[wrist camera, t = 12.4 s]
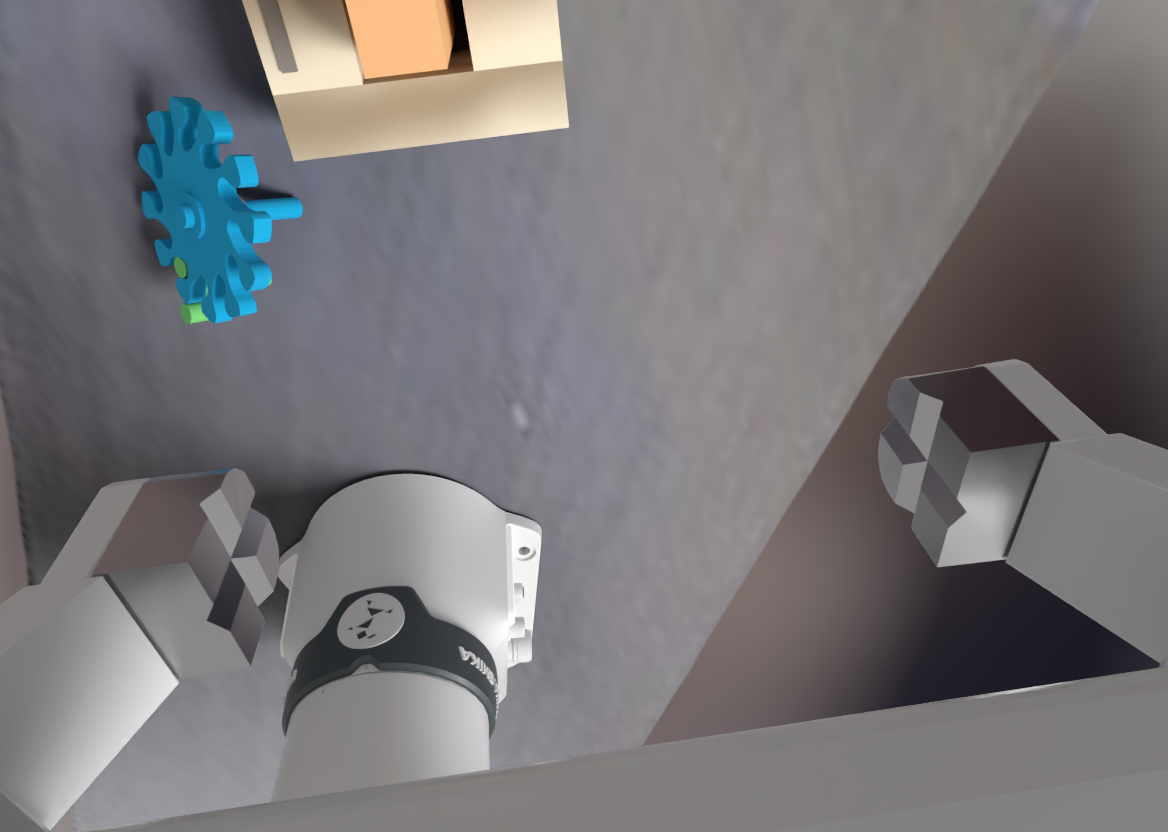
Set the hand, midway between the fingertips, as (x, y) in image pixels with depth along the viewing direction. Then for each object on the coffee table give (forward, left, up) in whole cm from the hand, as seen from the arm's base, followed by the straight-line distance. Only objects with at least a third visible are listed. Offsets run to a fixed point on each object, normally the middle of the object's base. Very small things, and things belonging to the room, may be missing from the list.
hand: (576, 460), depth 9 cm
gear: (-6, +15, -31) cm, 35 cm away
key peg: (+3, +4, -31) cm, 32 cm away
